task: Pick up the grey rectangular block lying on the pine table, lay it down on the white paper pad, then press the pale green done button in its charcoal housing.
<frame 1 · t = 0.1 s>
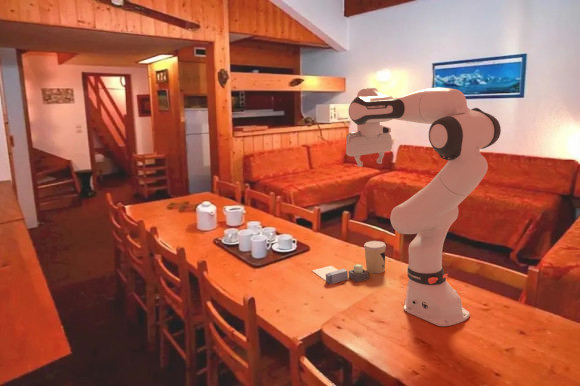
hand: (369, 164, 162), 48 cm above the table, tool pointing down, fingers open, 8 cm apart
button housing: (358, 278, 170), on the table
grey rectangular block: (336, 281, 170), on the table
coffee cup: (375, 270, 178), on the table
done button: (358, 270, 170), point 4 cm above the table, slide at 0.0 cm
paper: (328, 273, 178), on the table
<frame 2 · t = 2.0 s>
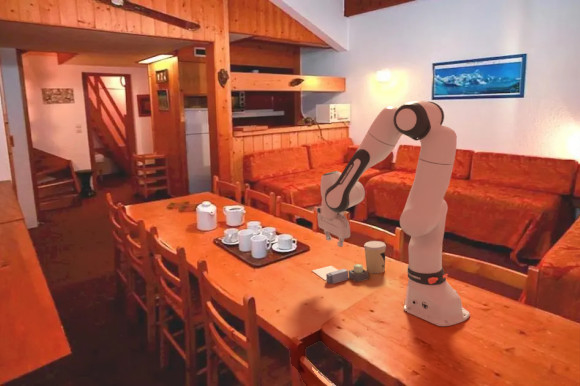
hand: (334, 243, 166), 17 cm above the table, tool pointing down, fingers open, 8 cm apart
nothing on the table moved.
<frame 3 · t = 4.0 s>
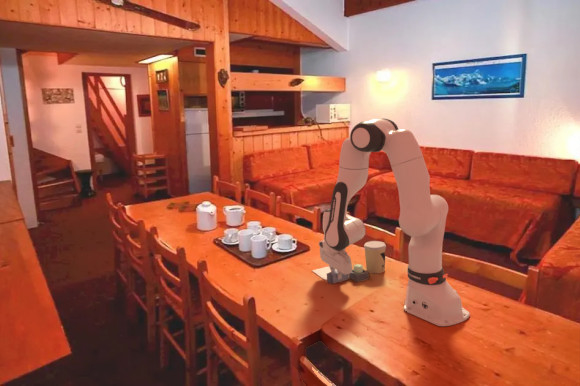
hand: (336, 276, 169), 2 cm above the table, tool pointing down, fingers closed on grey rectangular block, 3 cm apart
grey rectangular block: (337, 280, 170), on the table, touching gripper
everything else where it was.
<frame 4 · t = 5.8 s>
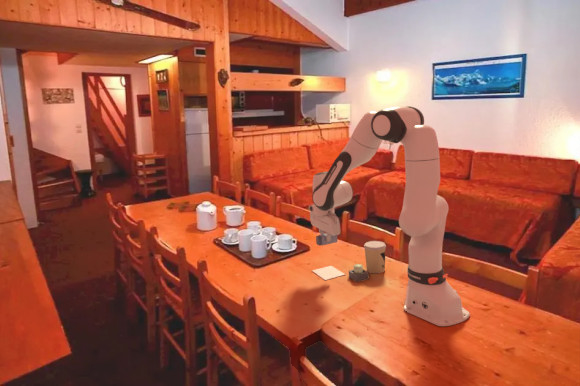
hand: (325, 239, 175), 16 cm above the table, tool pointing down, fingers closed on grey rectangular block, 3 cm apart
grey rectangular block: (326, 243, 175), point 14 cm above the table, touching gripper
everything else where it was.
when the fingers open (3 cm above the table, at t = 7.9 s): grey rectangular block drops 1 cm, resting on paper.
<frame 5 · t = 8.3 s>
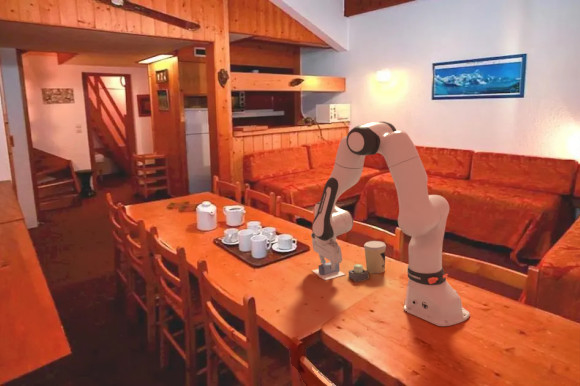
hand: (327, 266, 177), 3 cm above the table, tool pointing down, fingers open, 7 cm apart
grey rectangular block: (329, 272, 178), resting on paper
everything else where it was.
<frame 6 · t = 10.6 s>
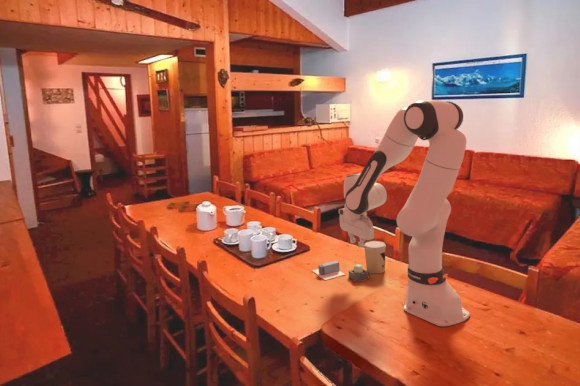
hand: (357, 244, 167), 15 cm above the table, tool pointing down, fingers open, 5 cm apart
nothing on the table moved.
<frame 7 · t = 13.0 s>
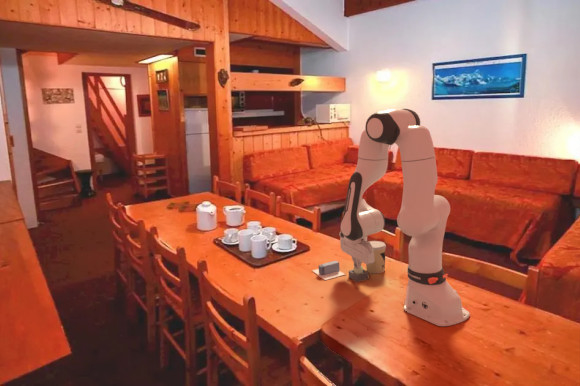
hand: (357, 267, 170), 5 cm above the table, tool pointing down, fingers closed
done button: (358, 271, 170), point 3 cm above the table, slide at 0.7 cm, touching gripper
everything else where it was.
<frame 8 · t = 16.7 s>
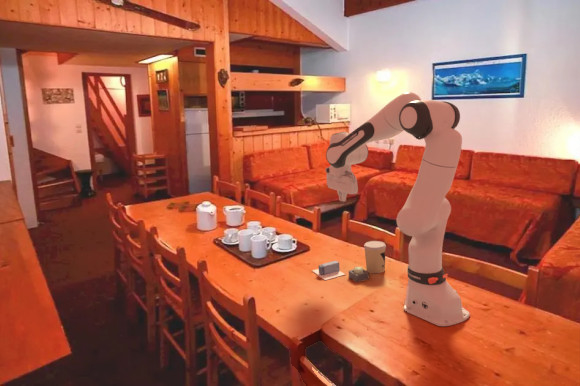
hand: (342, 200, 176), 31 cm above the table, tool pointing down, fingers closed
done button: (358, 273, 170), point 2 cm above the table, slide at 1.2 cm
everything else where it was.
at the end: grey rectangular block inside the target area on the paper (0.5 cm from its centre), point 0.3 cm above the paper's base; done button slide at 1.2 cm; the gripper is holding nothing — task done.
